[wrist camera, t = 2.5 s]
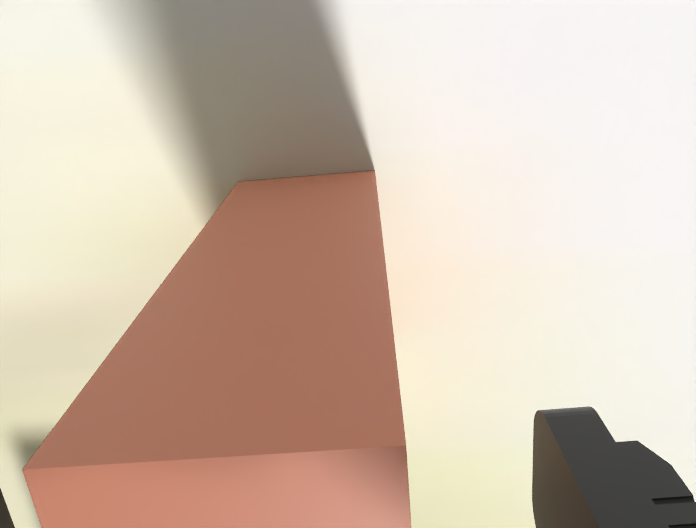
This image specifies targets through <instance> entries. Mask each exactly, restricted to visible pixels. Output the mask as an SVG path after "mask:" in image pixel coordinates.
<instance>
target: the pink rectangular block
mask: <svg viewBox="0 0 696 528" xmlns="http://www.w3.org/2000/svg"><path fill="white" fill-rule="evenodd" d="M22 470H23V473H24V476H25V479H26V482H27V485H28V488H29V491H30V494H31V497H32V500H33V503H34V506H35V509H36V512H37V515H38V518H39V521H40V524H41V526H42V528H411V514H410V499H409V484H408V468H407V453H406V441H405V432H404V423H403V414H402V406H401V397H400V388H399V379H398V370H397V362H396V353H395V344H394V335H393V326H392V318H391V309H390V300H389V291H388V282H387V274H386V265H385V256H384V247H383V238H382V230H381V221H380V212H379V203H378V194H377V186H376V177H375V170H374V171H362V172H350V173H338V174H326V175H313V176H301V177H289V178H277V179H265V180H253V181H241V182H237V184H236V185H235V186H234V188H233V189H232V190H231V192H230V193H229V194H228V196H227V197H226V198H225V200H224V201H223V202H222V204H221V205H220V206H219V208H218V209H217V210H216V212H215V213H214V215H213V216H212V217H211V219H210V220H209V221H208V223H207V224H206V225H205V227H204V228H203V229H202V231H201V232H200V233H199V235H198V236H197V237H196V239H195V240H194V241H193V243H192V244H191V245H190V247H189V248H188V249H187V251H186V252H185V253H184V255H183V256H182V257H181V259H180V260H179V261H178V263H177V264H176V265H175V267H174V268H173V269H172V271H171V272H170V273H169V275H168V276H167V277H166V279H165V280H164V281H163V283H162V284H161V285H160V287H159V288H158V289H157V291H156V292H155V293H154V295H153V296H152V297H151V299H150V300H149V301H148V303H147V304H146V305H145V307H144V308H143V309H142V311H141V312H140V313H139V315H138V316H137V317H136V319H135V320H134V321H133V323H132V324H131V325H130V327H129V328H128V329H127V331H126V332H125V333H124V335H123V336H122V337H121V339H120V340H119V341H118V343H117V344H116V345H115V347H114V348H113V349H112V351H111V352H110V353H109V355H108V356H107V357H106V359H105V360H104V361H103V363H102V364H101V365H100V367H99V368H98V369H97V371H96V372H95V373H94V375H93V376H92V377H91V379H90V380H89V381H88V383H87V384H86V385H85V387H84V388H83V389H82V391H81V392H80V393H79V395H78V396H77V397H76V399H75V400H74V401H73V403H72V404H71V405H70V407H69V408H68V409H67V411H66V412H65V413H64V415H63V416H62V417H61V419H60V420H59V421H58V423H57V424H56V425H55V427H54V428H53V429H52V431H51V432H50V433H49V435H48V436H47V437H46V439H45V440H44V441H43V443H42V444H41V445H40V447H39V448H38V449H37V451H36V452H35V453H34V455H33V456H32V457H31V459H30V460H29V461H28V463H27V464H26V465H25V467H24V468H23V469H22Z"/></svg>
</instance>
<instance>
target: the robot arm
mask: <svg viewBox="0 0 696 528" xmlns="http://www.w3.org/2000/svg"><path fill="white" fill-rule="evenodd" d="M532 502H533V512H534V519H535V524H536V528H696V502H695V501H694V499H693V495H692V493H691V492H690V490H689V489H688V488H687V486H686V485H685V484H684V482H683V481H682V479H681V478H680V477H679V475H678V474H677V472H676V471H675V470H674V468H673V467H672V466H671V465H670V464H669V463H668V462H666V461H665V460H663V459H662V458H661V457H659V456H658V455H656V454H655V453H654V452H652V451H651V450H650V449H648V448H647V447H645V446H644V445H643V444H641V443H640V442H638V441H626V442H615V440H614V439H613V437H612V436H611V434H610V432H609V431H608V429H607V428H606V426H605V425H604V423H603V421H602V420H601V418H600V417H599V415H598V413H597V412H596V411H595V410H594V409H593V408H592V407H578V408H565V409H551V410H538V411H537V412H536V414H535V417H534V435H533V483H532ZM0 528H15V527H14V524H13V522H12V519H11V516H10V514H9V511H8V508H7V505H6V503H5V500H4V497H3V494H2V492H1V489H0Z"/></svg>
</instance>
